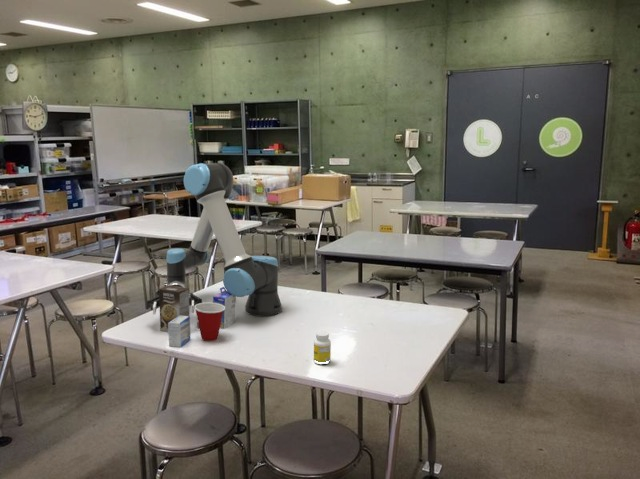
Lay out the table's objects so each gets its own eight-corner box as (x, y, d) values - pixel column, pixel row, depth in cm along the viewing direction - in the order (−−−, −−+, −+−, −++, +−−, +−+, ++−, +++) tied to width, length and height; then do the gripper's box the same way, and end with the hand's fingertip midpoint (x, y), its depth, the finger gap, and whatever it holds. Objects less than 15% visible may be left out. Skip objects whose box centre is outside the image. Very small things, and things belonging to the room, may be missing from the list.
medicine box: (180, 347, 179) (179, 323, 178) (168, 346, 180) (167, 322, 179) (190, 339, 187) (190, 316, 185) (179, 338, 188) (178, 314, 186)
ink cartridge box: (222, 319, 209) (224, 284, 207) (235, 322, 207) (237, 286, 205) (210, 326, 199) (213, 289, 197) (224, 329, 198) (226, 292, 196)
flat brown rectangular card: (210, 322, 205) (210, 321, 205) (210, 328, 198) (210, 327, 198) (197, 322, 204) (197, 321, 204) (197, 329, 197) (197, 328, 197)
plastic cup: (225, 343, 184) (225, 310, 182) (193, 344, 182) (193, 311, 180) (225, 332, 194) (225, 301, 192) (195, 333, 193) (195, 301, 190)
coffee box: (159, 331, 194) (157, 288, 191) (170, 325, 200) (169, 284, 197) (180, 334, 191) (178, 291, 188) (190, 329, 197) (189, 287, 194)
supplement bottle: (313, 358, 172) (313, 330, 171) (329, 358, 173) (330, 330, 171) (314, 365, 167) (314, 336, 165) (331, 365, 168) (331, 336, 166)
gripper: (207, 300, 215) (208, 318, 195) (143, 303, 210) (137, 321, 189) (207, 283, 214) (208, 298, 194) (142, 285, 208) (137, 301, 188)
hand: (173, 310), depth 191 cm, fingers open, 13 cm apart
